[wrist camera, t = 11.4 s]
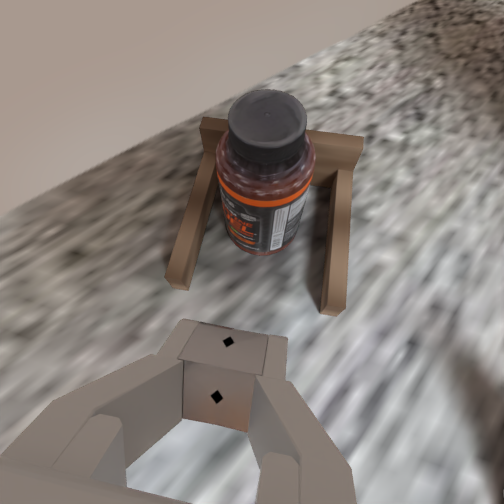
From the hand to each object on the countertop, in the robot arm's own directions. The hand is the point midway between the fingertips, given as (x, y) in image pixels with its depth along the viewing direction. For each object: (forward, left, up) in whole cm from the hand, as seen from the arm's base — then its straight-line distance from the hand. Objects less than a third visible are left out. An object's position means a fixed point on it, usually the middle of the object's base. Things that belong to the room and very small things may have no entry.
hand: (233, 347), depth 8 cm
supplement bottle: (-5, -10, -13) cm, 18 cm away
